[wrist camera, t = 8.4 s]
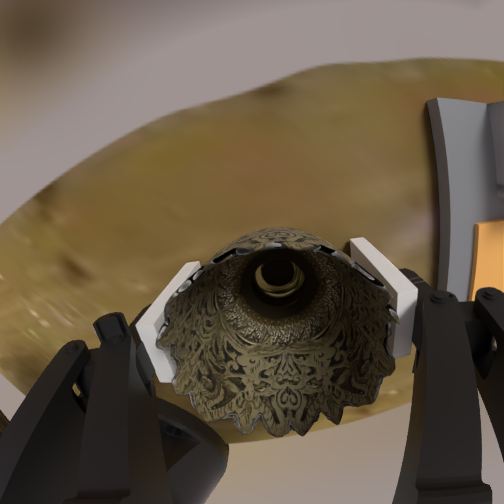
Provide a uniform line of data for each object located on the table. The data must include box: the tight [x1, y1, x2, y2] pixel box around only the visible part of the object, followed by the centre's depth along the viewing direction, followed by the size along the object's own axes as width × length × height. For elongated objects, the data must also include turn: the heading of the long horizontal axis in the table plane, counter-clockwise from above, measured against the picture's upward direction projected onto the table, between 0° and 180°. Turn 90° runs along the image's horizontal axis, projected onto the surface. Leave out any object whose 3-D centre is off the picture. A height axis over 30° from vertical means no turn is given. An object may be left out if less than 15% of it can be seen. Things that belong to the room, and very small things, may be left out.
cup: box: [155, 227, 400, 437], centre depth 11 cm, size 8×7×8 cm
